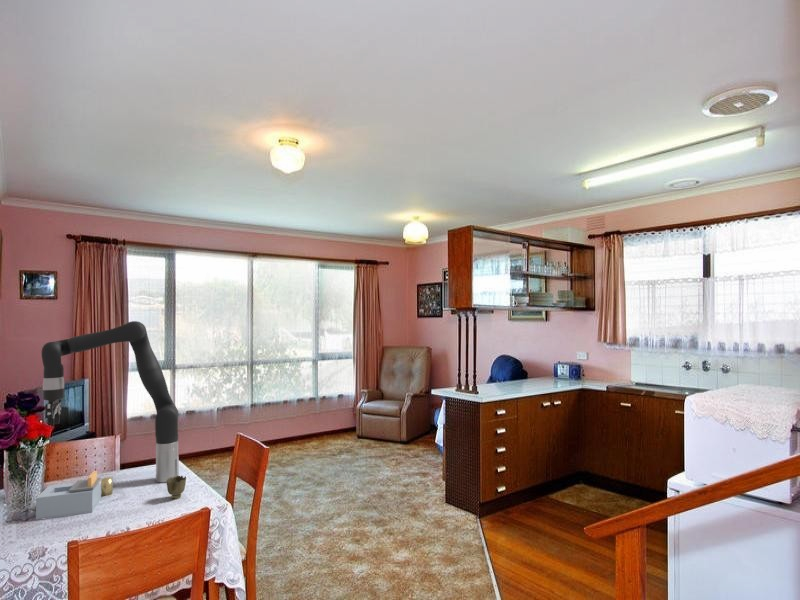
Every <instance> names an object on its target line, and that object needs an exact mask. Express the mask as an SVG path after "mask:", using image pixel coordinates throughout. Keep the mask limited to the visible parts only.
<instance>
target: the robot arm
mask: <svg viewBox="0 0 800 600" xmlns="http://www.w3.org/2000/svg"><path fill="white" fill-rule="evenodd" d="M124 342H125V343H126V342H128V343H129V344H130V347H131V348H132V351H133V354H134V357H135V358H134V359H135V365H136V369H137V372H138V376H139V378H140V380H141V383H142V386H143V387H144V388H145V390H146V391H147V393H148V394H149V395H150V396H149V397H150V398H151V399H152V402H153V404H154V408H155V411H156V415H155V420H154V421H155V423H154V424H155V425H154V428H155V429H154V430H155V481H156V482H157V483H167V482H166V480H168V479H169V478H170V477H172V478H173V477H174V476H175V477H177V476H180V472H179V471H180V469H179V468H180V467H179V465H180V464H179V462H180V461H179V460H180V459H179V457H180V456H179V432H178V430H179V428H178V427H179V426H178V424H179V417H180V413H179V410H178V409H177V406H176V405H175V403H174V401H173V399H172V397H171V395H170V392H169V389H168V385H167V382H166V379H165V375H164V373H163V371H162V368H161V365H160V363H159V361H158V358H157V357H156V355H155V352H154V351H153V349H152V346H151V343H150V340H149V336H148V331H147V328H146V326H145V324H144V323H143V322H140V321H137V320H135V321H134V320H132V321H129V322H126V323H125V324H122V325H119V326H117V327H116V326H115V327H113V328H111V329H107V330H103V331H97V332H91V333H85V334H79V335H76V336H72V337H70V338H66V339H61V340H56V341H55V340H54V341H48V342H46V343H45V344H43V346H42V347H41V348H42V349H41V359H42V365H43V379H42V380H43V381H42V400H43V401H48V402H47V403H46V404H45V405H44V408H45V410H44V411H45V412H44V418H45V420H46V421H47V422H46V423H47V424H48V425H51V426H53V428H55V425H58V424H60V421H61V420H60V419H61V418H60V415H61V413H62V399H64V398H65V379H64V377H65V376H64V373H65V371H64V365H63V364H62V357H64V356H67V355H70V354H74V353H81V352H85V351H90V350H93V349H97V348H100V347H103V346H107V345H111V344H115V343H124Z"/></svg>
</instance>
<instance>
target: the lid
mask: <svg viewBox="0 0 800 600" xmlns="http://www.w3.org/2000/svg"><path fill="white" fill-rule="evenodd" d="M100 480H101V478H100V477H98V470H93V471H92V472H91V473H90V474H89V476H88V477H87V479H79V480H77V481H76V482H74V483H75V484H74V485H73V486H72V487H71V488H70V489H69V492H77V491H85V490H93V489H94V488H95V486H96V485H97V484H98V482H99V481H100Z"/></svg>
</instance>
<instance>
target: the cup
mask: <svg viewBox="0 0 800 600" xmlns="http://www.w3.org/2000/svg"><path fill="white" fill-rule="evenodd" d="M186 481H187V477H186V475H185V476H183V475H179V476H177V477H175V476H174V477H173V478H172V477H170V478H169V479H168V480H166V482H165V483H166V487H167V492H168V494H169V495H170V496H171V498H172V499H173V500H178V499H179V498H181V497H182V493H183V492H184V491H185V489H186Z"/></svg>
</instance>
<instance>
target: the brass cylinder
mask: <svg viewBox="0 0 800 600" xmlns="http://www.w3.org/2000/svg"><path fill="white" fill-rule="evenodd" d="M100 480H101V497H108V496H111V495H113V481H114V480H113V477H111V476H109V477H104V478H101V479H100Z"/></svg>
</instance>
